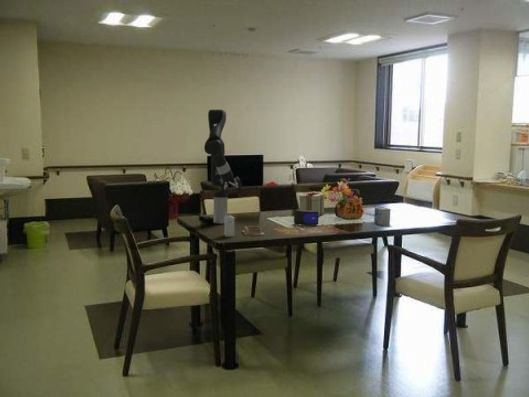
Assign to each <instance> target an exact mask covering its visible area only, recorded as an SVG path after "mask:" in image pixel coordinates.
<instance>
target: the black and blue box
mask: <svg viewBox="0 0 529 397" xmlns="http://www.w3.org/2000/svg"><path fill="white" fill-rule="evenodd" d="M319 218H320V216H319V212H318V211H308V210H300V209H296V210H294V211H293V223H294V224H295V225H298V224H301V225H300V226H317V225H318V224H319Z"/></svg>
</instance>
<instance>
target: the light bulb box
mask: <svg viewBox="0 0 529 397" xmlns="http://www.w3.org/2000/svg"><path fill="white" fill-rule="evenodd" d="M373 223H375V224H377V225H380V226H390V225H391V224H390V223H391V208H388V207H385V206H375V207H374V220H373Z"/></svg>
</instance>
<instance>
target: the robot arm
mask: <svg viewBox="0 0 529 397" xmlns="http://www.w3.org/2000/svg"><path fill="white" fill-rule="evenodd" d="M207 114H208V115H207V117H208V118H207V120H208V128H209V130H208V131H209V135H208V138H207V139H206V141H205V143H204V146H203V147H204V148H203V149H204V151H205V153H206V154H207V155H210V162H211V164H210V165H211V169H210V170H211V171H210V172H211V173H210V174H211V176H210V179H211V181H210V182H211V185H212V187H217V188H219V187H220V190H218V191H215V192H213V224H225V217H227V216H228V198H229V197H228V195H231V191H230V188H229V186H233V187H236V189H237V191H238V193H242V191H243V190H242V187H241V186H242V185H243V183H242V180H241V179H240V176H235V177H234V173H233V171H232V169H231V167H230V164H229V163H228V162H227V159H226V157H225V154H226V153H225V152H226V151H225V149H226V148H225V142H224V141H223V139H222V133H223V130H224V127H225V124H226V121H227V113H226V110H225V109H209V110H208V113H207Z"/></svg>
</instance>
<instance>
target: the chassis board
mask: <svg viewBox="0 0 529 397" xmlns="http://www.w3.org/2000/svg"><path fill="white" fill-rule="evenodd" d="M241 233H243V234H244V235H245V237H249V236H250V237H252V236H254V237H256V236H265V233H264V232H263V231H262V228H261V226H260V225H258V226H257V225H256V226H254V225H253V226H244V230H241Z"/></svg>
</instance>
